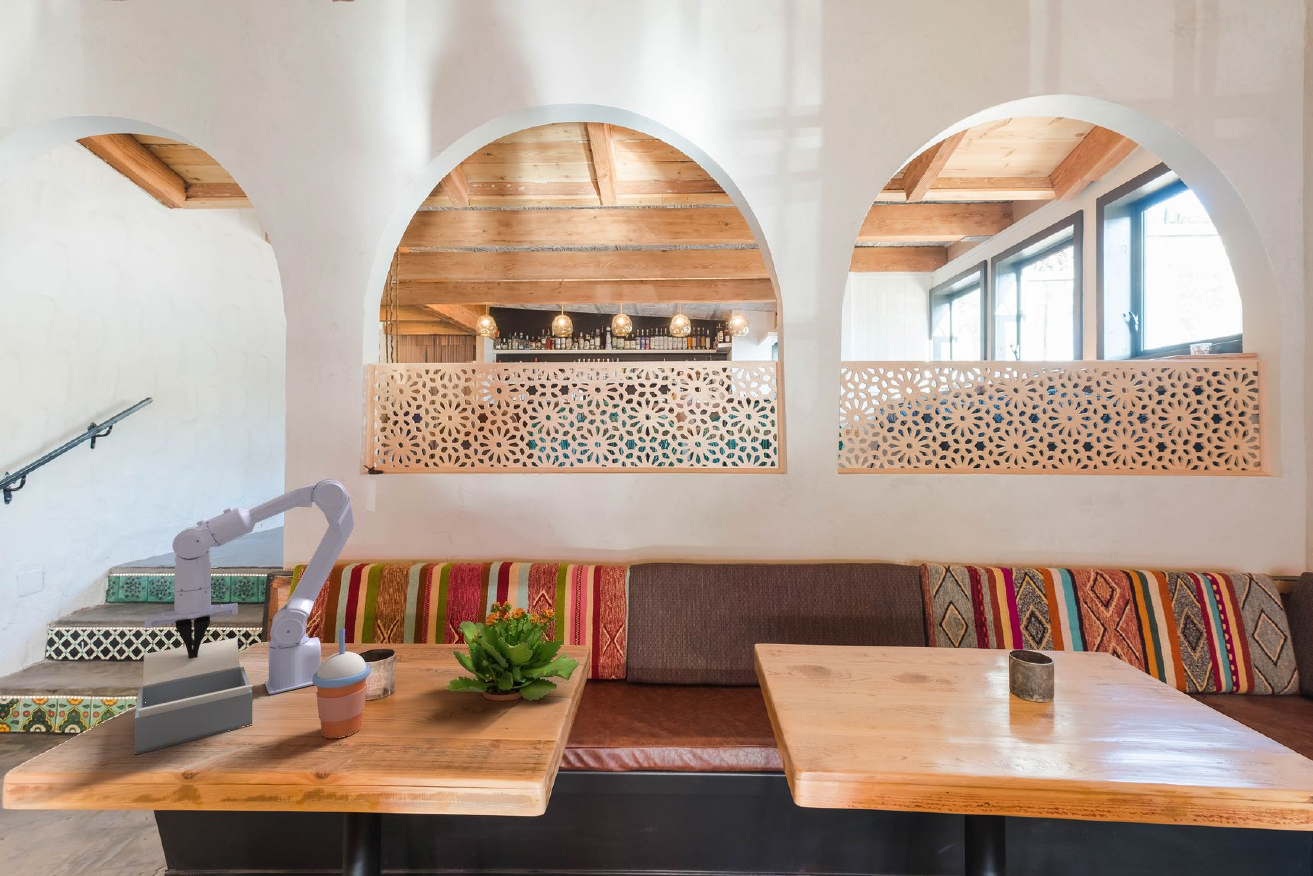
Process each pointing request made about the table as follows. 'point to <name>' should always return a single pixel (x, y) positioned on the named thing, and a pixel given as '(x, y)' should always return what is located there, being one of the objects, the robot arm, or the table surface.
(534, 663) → the potted flower
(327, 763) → the table surface
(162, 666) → the back flap
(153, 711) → the front flap
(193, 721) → the carton
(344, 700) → the cup with straw
